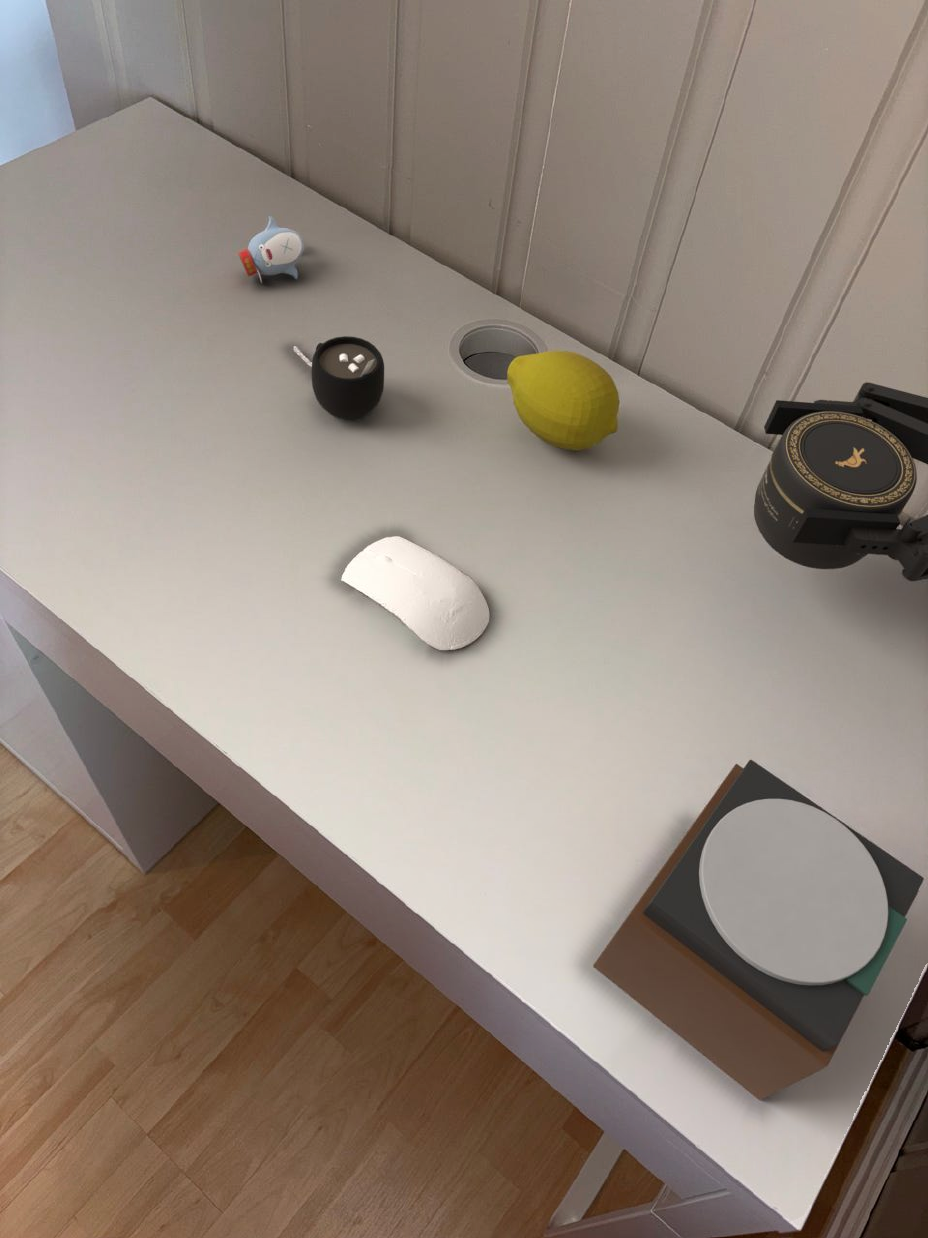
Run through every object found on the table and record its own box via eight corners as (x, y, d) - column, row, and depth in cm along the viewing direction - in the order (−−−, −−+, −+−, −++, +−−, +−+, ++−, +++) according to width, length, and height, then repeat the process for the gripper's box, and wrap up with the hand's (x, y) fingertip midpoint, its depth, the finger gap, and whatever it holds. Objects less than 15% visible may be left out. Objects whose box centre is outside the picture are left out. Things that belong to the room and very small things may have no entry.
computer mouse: (391, 528, 80) (392, 509, 78) (504, 613, 76) (508, 595, 74) (331, 576, 76) (331, 557, 74) (447, 666, 73) (449, 649, 71)
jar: (886, 511, 77) (933, 441, 71) (857, 598, 72) (904, 530, 66) (767, 461, 79) (802, 389, 73) (729, 543, 74) (763, 472, 68)
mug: (398, 413, 87) (402, 346, 81) (341, 441, 85) (340, 375, 79) (321, 338, 92) (318, 270, 86) (264, 363, 89) (257, 295, 83)
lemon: (630, 444, 88) (652, 375, 81) (574, 487, 84) (593, 419, 78) (541, 381, 91) (555, 310, 85) (483, 419, 88) (494, 349, 81)
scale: (847, 942, 63) (942, 873, 53) (759, 1101, 57) (848, 1057, 47) (689, 828, 67) (750, 742, 57) (592, 966, 61) (640, 898, 51)
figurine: (295, 238, 100) (325, 253, 98) (240, 286, 98) (270, 303, 96) (279, 196, 95) (310, 212, 94) (221, 246, 93) (252, 263, 92)
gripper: (1103, 645, 69) (795, 627, 67) (1001, 419, 82) (741, 400, 80) (1177, 580, 62) (840, 559, 61) (1054, 347, 75) (774, 325, 74)
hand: (784, 469), depth 70 cm, fingers closed on jar, 10 cm apart
